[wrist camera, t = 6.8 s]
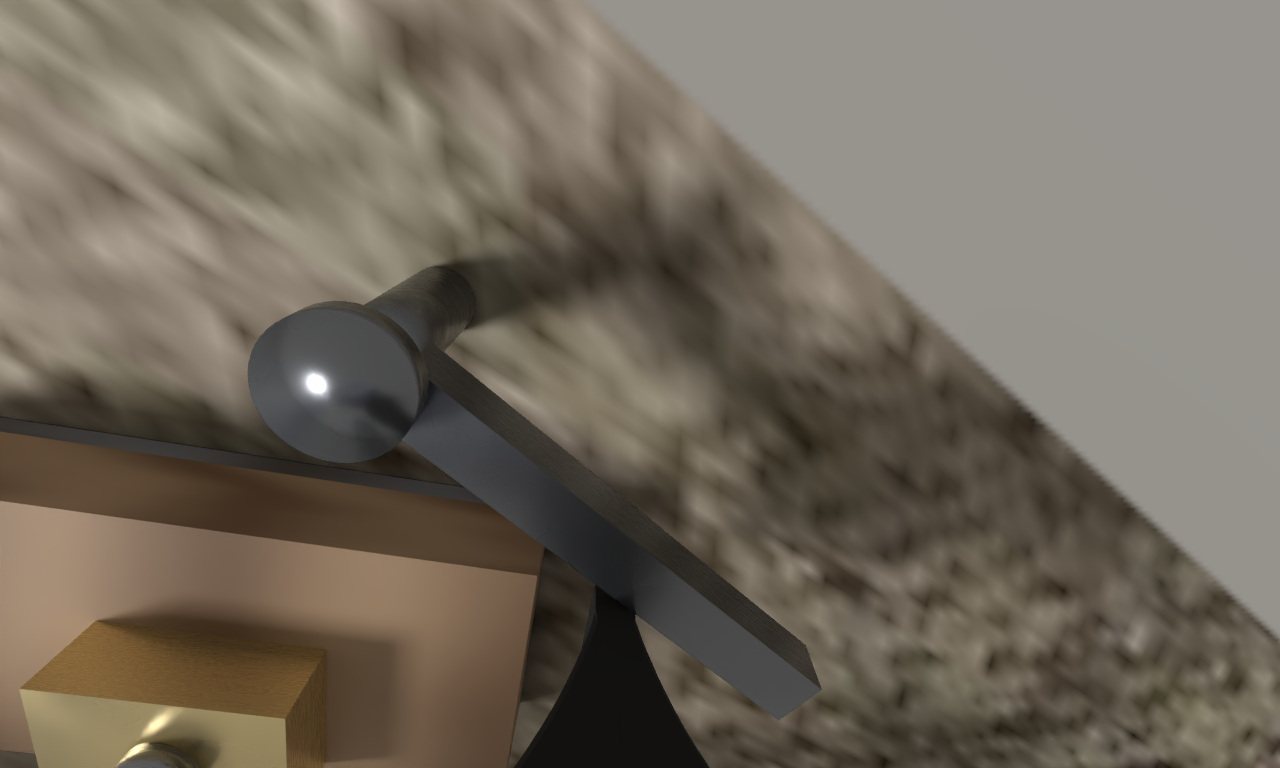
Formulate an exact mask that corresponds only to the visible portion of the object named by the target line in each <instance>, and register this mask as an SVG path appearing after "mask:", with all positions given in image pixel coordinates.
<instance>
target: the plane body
mask: <svg viewBox="0 0 1280 768" xmlns="http://www.w3.org/2000/svg"><path fill="white" fill-rule="evenodd" d="M544 552H545V547H544V546H543V545H542V544H540V543H539V542H538V541H536V540H535V539H534V538H532V537H531V536H530V535H528V534H527V533H526V532H524V531H523V530H522V529H520V528H519V527H518V526H516V525H515V524H513V523H512V522H511V521H509V520H508V519H507V518H505V517H504V516H503V515H501V514H500V513H499V512H497V511H496V510H495V509H493V508H492V507H491V506H489V505H488V504H487V503H485V502H484V501H483V500H481V499H480V498H478V497H477V496H476V495H474V494H473V493H472V492H470V491H469V490H468V489H466V488H464V487H458V486H451V485H444V484H438V483H431V482H425V481H418V480H411V479H405V478H398V477H392V476H385V475H378V474H372V473H365V472H359V471H352V470H345V469H339V468H332V467H326V466H319V465H312V464H306V463H299V462H293V461H286V460H279V459H273V458H266V457H260V456H253V455H246V454H240V453H233V452H227V451H220V450H213V449H207V448H200V447H194V446H187V445H180V444H174V443H167V442H161V441H154V440H147V439H141V438H134V437H128V436H121V435H114V434H108V433H101V432H95V431H88V430H81V429H75V428H68V427H62V426H55V425H48V424H42V423H35V422H29V421H22V420H15V419H9V418H2V417H0V750H3V751H13V752H22V753H32V754H35V751H34V747H33V743H32V739H31V735H30V731H29V727H28V723H27V719H26V715H25V711H24V707H23V703H22V699H21V695H20V690H19V688H21V687H22V686H23V685H24V684H25V683H26V682H27V681H28V680H30V679H31V678H32V677H33V676H34V675H35V674H36V673H37V672H38V671H40V670H41V669H42V668H43V667H44V666H45V665H46V664H47V663H49V662H50V661H51V660H52V659H53V658H54V657H55V656H56V655H58V654H59V653H60V652H61V651H62V650H63V649H64V648H65V647H67V646H68V645H69V644H70V643H71V642H72V641H73V640H74V639H76V638H77V637H78V636H79V635H80V634H81V633H82V632H83V631H84V630H86V629H87V628H88V627H89V626H90V625H91V624H92V623H93V622H95V621H102V622H110V623H118V624H126V625H134V626H142V627H151V628H159V629H167V630H175V631H183V632H191V633H199V634H207V635H215V636H223V637H231V638H239V639H247V640H255V641H263V642H271V643H279V644H287V645H296V646H304V647H312V648H320V649H327V676H326V764H325V766H324V768H508V762H509V757H510V752H511V747H512V741H513V736H514V731H515V725H516V720H517V715H518V710H519V704H520V698H521V692H522V686H523V680H524V674H525V668H526V662H527V656H528V650H529V643H530V637H531V631H532V625H533V619H534V613H535V607H536V601H537V595H538V588H539V582H540V576H541V570H542V564H543V558H544Z"/></svg>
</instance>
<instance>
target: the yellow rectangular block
mask: <svg viewBox="0 0 1280 768" xmlns="http://www.w3.org/2000/svg"><path fill="white" fill-rule="evenodd" d="M326 676H327V649H320V648H312V647H304V646H296V645H287V644H279V643H271V642H263V641H255V640H247V639H239V638H231V637H223V636H215V635H207V634H199V633H191V632H183V631H175V630H167V629H159V628H151V627H142V626H134V625H126V624H118V623H110V622H102V621H95V622H93V623H92V624H91V625H90V626H89V627H88V628H87V629H86V630H84V631H83V632H82V633H81V634H80V635H79V636H78V637H77V638H76V639H74V640H73V641H72V642H71V643H70V644H69V645H68V646H67V647H65V648H64V649H63V650H62V651H61V652H60V653H59V654H58V655H56V656H55V657H54V658H53V659H52V660H51V661H50V662H49V663H47V664H46V665H45V666H44V667H43V668H42V669H41V670H40V671H38V672H37V673H36V674H35V675H34V676H33V677H32V678H31V679H30V680H28V681H27V682H26V683H25V684H24V685H23V686H22V687H21V688H19V690H20V695H21V699H22V703H23V707H24V711H25V715H26V719H27V723H28V727H29V731H30V735H31V739H32V743H33V747H34V751H35V755H36V759H37V763H38V767H39V768H324V766H325V764H326Z"/></svg>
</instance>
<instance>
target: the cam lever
mask: <svg viewBox="0 0 1280 768" xmlns="http://www.w3.org/2000/svg"><path fill="white" fill-rule="evenodd" d="M475 307H476V303H475V296H474V293H473V291H472V289H471V287H470V285H469V284H468V282H467V281H466V280H465V279H464V278H463V277H462V276H461V275H459V274H458V273H456V272H454V271H452V270H450V269H447V268H442V267H431V268H427V269H424V270H422V271H420V272H418V273H417V274H415V275H413V276H412V277H410V278H408V279H407V280H405V281H403V282H402V283H400V284H398V285H397V286H395V287H393V288H392V289H390V290H388V291H387V292H385V293H383V294H382V295H380V296H378V297H377V298H375V299H373V300H372V301H370V302H368V303H367V304H365V305H361V304H357V303H352V302H346V301H329V302H322V303H317V304H313V305H311V306H308V307H305V308H303V309H301V310H299V311H297V312H295V313H293V314H291V315H289V316H287V317H285V318H283V319H281V320H280V321H278V322H276V323H274V324H273V325H272V326H271V327H269V328H268V329H267V330H266V331H265V332H264V333H263V334H262V335H261V336H260V338H259V339H258V341H257V342H256V344H255V346H254V348H253V350H252V353H251V356H250V360H249V364H248V384H249V389H250V393H251V396H252V399H253V402H254V404H255V406H256V408H257V410H258V412H259V414H260V415H261V417H262V418H263V420H264V421H265V423H266V424H267V425H268V426H269V427H270V428H271V430H272V431H273V432H274V433H275V434H276V435H278V436H279V437H280V438H281V439H282V440H283V441H285V442H286V443H287V444H289V445H290V446H292V447H294V448H295V449H297V450H299V451H301V452H303V453H305V454H307V455H309V456H312V457H315V458H317V459H321V460H325V461H330V462H337V463H356V462H363V461H368V460H371V459H374V458H377V457H379V456H381V455H383V454H385V453H387V452H388V451H390V450H391V449H393V448H394V447H395V446H396V445H397V444H398V443H400V442H401V440H402V441H403V442H404V443H406V444H407V445H408V446H410V447H411V448H413V449H414V450H415V451H417V452H418V453H419V454H421V455H422V456H423V457H425V458H426V459H427V460H429V461H430V462H431V463H433V464H434V465H435V466H437V467H438V468H439V469H441V470H442V471H443V472H445V473H446V474H448V475H449V476H450V477H452V478H453V479H454V480H456V481H457V482H458V483H460V484H461V485H462V486H464V487H465V488H466V489H468V490H469V491H470V492H472V493H473V494H474V495H476V496H477V497H478V498H480V499H481V500H483V501H484V502H485V503H487V504H488V505H489V506H491V507H492V508H493V509H495V510H496V511H497V512H499V513H500V514H501V515H503V516H504V517H505V518H507V519H508V520H509V521H511V522H512V523H513V524H515V525H516V526H518V527H519V528H520V529H522V530H523V531H524V532H526V533H527V534H528V535H530V536H531V537H532V538H534V539H535V540H536V541H538V542H539V543H540V544H542V545H543V546H544V547H546V548H547V549H548V550H550V551H551V552H553V553H554V554H555V555H557V556H558V557H559V558H561V559H562V560H563V561H565V562H566V563H567V564H569V565H570V566H571V567H573V568H574V569H575V570H577V571H578V572H579V573H581V574H582V575H583V576H585V577H586V578H588V579H589V580H590V581H592V582H593V583H594V584H596V585H597V586H598V587H600V588H601V589H602V590H604V591H605V592H606V593H608V594H609V595H610V596H612V597H613V598H614V599H616V600H617V601H618V602H620V603H621V604H623V605H624V606H625V607H627V608H628V609H629V610H631V611H635V612H636V615H637V616H639V617H640V618H641V619H643V620H644V621H645V622H647V623H648V624H649V625H651V626H652V627H653V628H655V629H656V630H658V631H659V632H660V633H662V634H663V635H664V636H666V637H667V638H668V639H670V640H671V641H672V642H674V643H675V644H676V645H678V646H679V647H680V648H682V649H683V650H684V651H686V652H687V653H688V654H690V655H691V656H693V657H694V658H695V659H697V660H698V661H699V662H701V663H702V664H703V665H705V666H706V667H707V668H709V669H710V670H711V671H713V672H714V673H715V674H717V675H718V676H719V677H721V678H722V679H723V680H725V681H726V682H728V683H729V684H730V685H732V686H733V687H734V688H736V689H737V690H738V691H740V692H741V693H742V694H744V695H745V696H746V697H748V698H749V699H750V700H752V701H753V702H754V703H756V704H757V705H758V706H760V707H761V708H763V709H764V710H765V711H767V712H768V713H769V714H771V715H772V716H773V717H775V718H776V719H777V720H780V719H781V718H783V717H784V716H785V715H787V714H788V713H790V712H791V711H792V710H794V709H795V708H797V707H798V706H800V705H801V704H802V703H804V702H805V701H807V700H808V699H809V698H811V697H812V696H814V695H815V694H816V693H818V692H819V691H821V690H822V689H821V686H820V684H819V681H818V678H817V675H816V673H815V670H814V667H813V664H812V662H811V659H810V656H809V653H808V651H807V648H806V645H805V644H803V643H802V642H801V641H800V640H798V639H797V638H796V637H795V636H794V635H792V634H791V633H790V632H789V631H787V630H786V629H785V628H784V627H782V626H781V625H780V624H779V623H777V622H776V621H775V620H774V619H773V618H771V617H770V616H769V615H768V614H766V613H765V612H764V611H763V610H761V609H760V608H759V607H758V606H756V605H755V604H754V603H753V602H752V601H750V600H749V599H748V598H747V597H745V596H744V595H743V594H742V593H740V592H739V591H738V590H737V589H736V588H734V587H733V586H732V585H731V584H729V583H728V582H727V581H726V580H724V579H723V578H722V577H721V576H719V575H718V574H717V573H716V572H715V571H713V570H712V569H711V568H710V567H708V566H707V565H706V564H705V563H703V562H702V561H701V560H700V559H698V558H697V557H696V556H695V555H694V554H692V553H691V552H690V551H689V550H687V549H686V548H685V547H684V546H682V545H681V544H680V543H679V542H678V541H676V540H675V539H674V538H673V537H671V536H670V535H669V534H668V533H666V532H665V531H664V530H663V529H661V528H660V527H659V526H658V525H657V524H655V523H654V522H653V521H652V520H650V519H649V518H648V517H647V516H645V515H644V514H643V513H642V512H640V511H639V510H638V509H637V508H636V507H634V506H633V505H632V504H631V503H629V502H628V501H627V500H626V499H624V498H623V497H622V496H621V495H620V494H618V493H617V492H616V491H615V490H613V489H612V488H611V487H610V486H608V485H607V484H606V483H605V482H603V481H602V480H601V479H600V478H599V477H597V476H596V475H595V474H594V473H592V472H591V471H590V470H589V469H587V468H586V467H585V466H584V465H583V464H581V463H580V462H579V461H578V460H576V459H575V458H574V457H573V456H571V455H570V454H569V453H568V452H566V451H565V450H564V449H563V448H562V447H560V446H559V445H558V444H557V443H555V442H554V441H553V440H552V439H550V438H549V437H548V436H547V435H545V434H544V433H543V432H542V431H541V430H539V429H538V428H537V427H536V426H534V425H533V424H532V423H531V422H529V421H528V420H527V419H526V418H525V417H523V416H522V415H521V414H520V413H518V412H517V411H516V410H515V409H513V408H512V407H511V406H510V405H508V404H507V403H506V402H505V401H504V400H502V399H501V398H500V397H499V396H497V395H496V394H495V393H494V392H492V391H491V390H490V389H489V388H487V387H486V386H485V385H484V384H483V383H481V382H480V381H479V380H478V379H476V378H475V377H474V376H473V375H471V374H470V373H469V372H468V371H467V370H465V369H464V368H463V367H462V366H460V365H459V364H458V363H457V362H455V361H454V360H453V359H452V358H450V357H449V356H448V355H447V354H446V353H444V351H445V350H446V349H447V348H448V347H449V346H450V344H451V343H452V342H453V341H454V340H455V339H456V338H457V337H458V335H459V334H460V333H461V332H462V331H463V330H464V329H465V328H466V326H467V325H468V324H469V323H470V322H471V320H472V318H473V316H474V313H475Z"/></svg>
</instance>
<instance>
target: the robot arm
mask: <svg viewBox="0 0 1280 768" xmlns="http://www.w3.org/2000/svg"><path fill="white" fill-rule="evenodd" d="M635 614H636V612H635V611H631V610H629V609H628V608H627V607H625V606H624V605H623V604H621V603H620V602H618V601H617V600H616V599H614V598H613V597H612V596H610V595H609V594H608V593H606V592H605V591H604V590H602V589H601V588H600V587H598V586H597V585H596V584H595V587H594V592H593V597H592V602H591V607H590V611H589V616H588V621H587V626H586V631H585V636H584V641H583V646H582V650H581V653H580V655H579V657H578V660H577V662H576V664H575V666H574V668H573V670H572V672H571V674H570V676H569V678H568V680H567V682H566V684H565V686H564V688H563V690H562V692H561V694H560V696H559V697H558V699H557V701H556V703H555V705H554V706H553V708H552V710H551V712H550V713H549V715H548V717H547V718H546V720H545V722H544V723H543V725H542V727H541V728H540V730H539V732H538V733H537V735H536V736H535V738H534V739H533V741H532V742H531V744H530V745H529V747H528V748H527V750H526V751H525V753H524V754H523V756H522V757H521V759H520V760H519V762H518V763H517V765H516V766H515V767H514V768H709V766H708V765H707V763H706V762H705V760H704V758H703V757H702V755H701V754H700V752H699V751H698V749H697V748H696V746H695V744H694V743H693V741H692V739H691V738H690V736H689V735H688V733H687V731H686V730H685V728H684V726H683V724H682V723H681V721H680V719H679V717H678V715H677V714H676V712H675V710H674V708H673V706H672V704H671V702H670V700H669V698H668V696H667V694H666V692H665V690H664V688H663V686H662V684H661V682H660V680H659V678H658V676H657V674H656V671H655V669H654V667H653V664H652V662H651V660H650V657H649V655H648V653H647V650H646V648H645V646H644V643H643V641H642V638H641V635H640V633H639V630H638V627H637V624H636V621H635Z"/></svg>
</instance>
